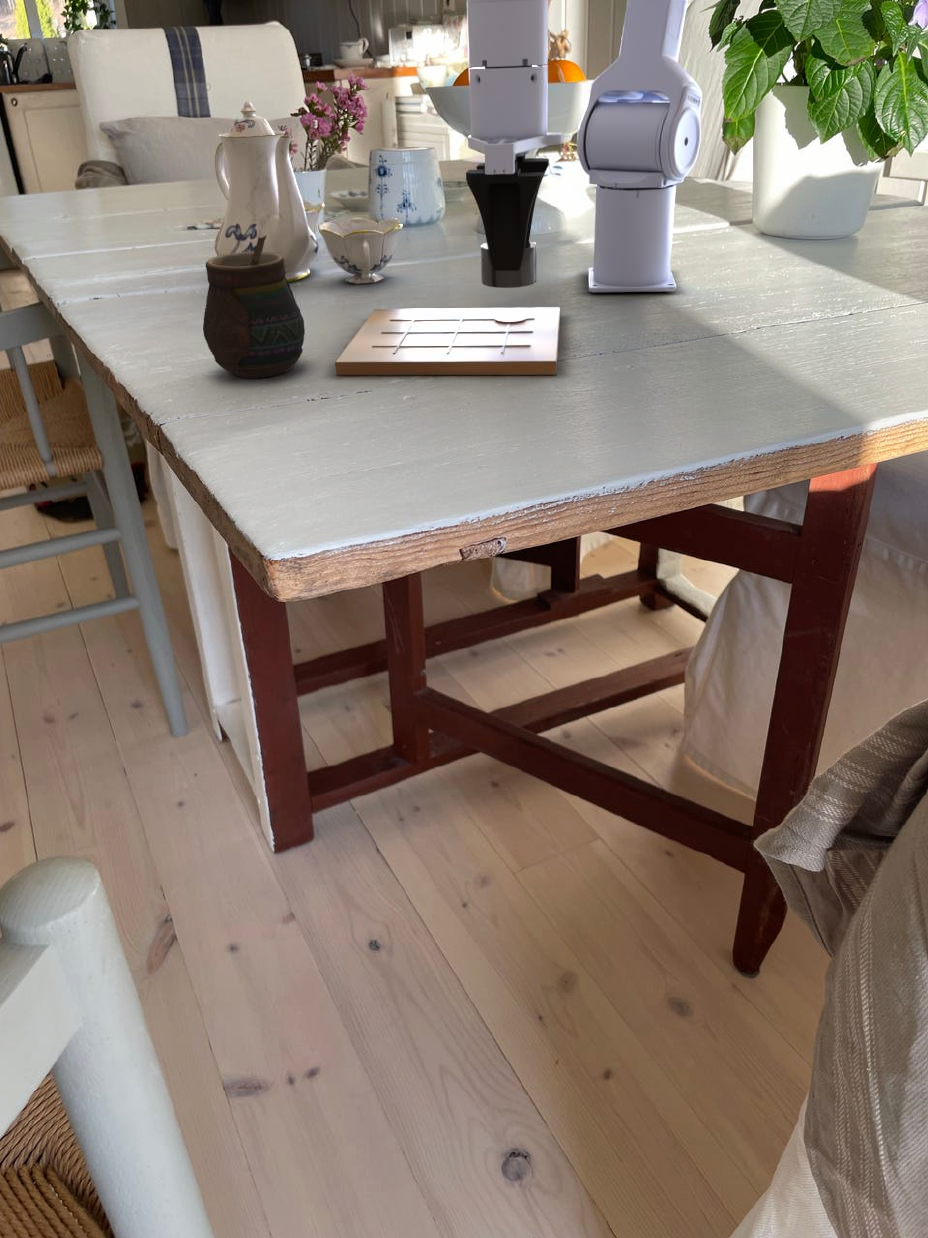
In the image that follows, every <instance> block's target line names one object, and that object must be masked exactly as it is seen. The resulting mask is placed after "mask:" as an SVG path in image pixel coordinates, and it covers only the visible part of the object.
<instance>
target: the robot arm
mask: <svg viewBox="0 0 928 1238" xmlns="http://www.w3.org/2000/svg"><path fill="white" fill-rule="evenodd" d="M688 3H689V0H627V1H626V6H625V13H624V14H625V15H624V19H623V20H624V21H623V27H622V34H621V40H620V47H619V48H620V49H619V54H618V57H617V58H616V60H614V61H613V62H612V63H611V64H610V65H609V66H608V67H607V68H606V69H605V70H604V71H602V72H601V73H600V74H599V75H598V76H597V77H596V78H595V79H594V80H593V81H592V83H591V84H590V90H589V96H588V100H587V104H586V107H585V110H584V113H583V115H582V117H581V119H580V122H579V123H578V124H579V125H578V128H577V135H576V152H577V157H578V161H579V163H580V165H581V167H582V169H583V171H584V173H585V174H587V176H589V178H588V184H589V185H596V186H595V210H594V211H595V212H594V237H593V238H594V239H593V240H594V241H593V242H594V243H593V266H592V267H588V269H587V270H588V272H587V273H588V274H587V275H588V291H589V292H590V293H655V292H656V293H661V292H676V291H677V284H676V281H675V279H674V276H673V273H672V270H671V260H672V245H673V232H674V219H675V217H674V216H675V206H676V205H675V203H676V190H677V184H681V183H684V179H685V178H687V176H688V174H689V173H690V172H691V170H692V169H693V167H694V165H695V164H696V161H697V159H698V156H699V153H700V147H701V143H702V142H701V141H702V124H701V113H702V103H703V92H702V90H701V88H700V86H699V85H698V83H697V82H696V81H695V79H694V78H693V77H692V76H691V75H690V74H689V73H688V72H687V71H686V69H685V68H684V67H682V66H681V64H680V63H679V56H680V50H681V45H682V44H681V43H682V38H683V32H684V25H685V22H686V21H685V19H686V14H687V9H688ZM466 9H467V10H466V13H467V15H466V17H467V53H468V55H467V57H468V85H469V118H470V119H469V124H470V135H468V136H467V146H468V149H470V150H473V151H475V152H477V153H480V154H482V155H484V162H481V163H478V164H477V165H476V167H475V168H476V169H468V170H467V171H465V180H466V184H467V186H468V188H469V190H470V192H471V194H472V196H473V198H474V201H475V202H476V205H477V208H478V211H479V213H480V217H481V221H482V224H483V229H484V230H483V231H484V234H485V240H486V243H487V245H488V251H489V256H490V260H491V264H492V267H493V270H494V271H519V270H520V268H521V264H522V261H523V256H524V250H525V243H526V241H530V238H531V237H530V236H531V231H532V224H533V218H534V211H535V207H536V202H537V197H538V194H539V190H540V187H541V184H542V181H543V178H544V176H545V174H546V172H547V170H548V167H549V165H550V159H549V158H547V157H528V158H527V157H526V155H529V153H530V152H531V151H535V150H539V149H543V148H547V147H549V146H554V145H556V146H557V145H562V144H563V142H564V133H563V132H559V131H558V132H548V89H549V87H548V82H549V81H548V80H549V79H548V78H549V60H548V59H549V0H466Z"/></svg>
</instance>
